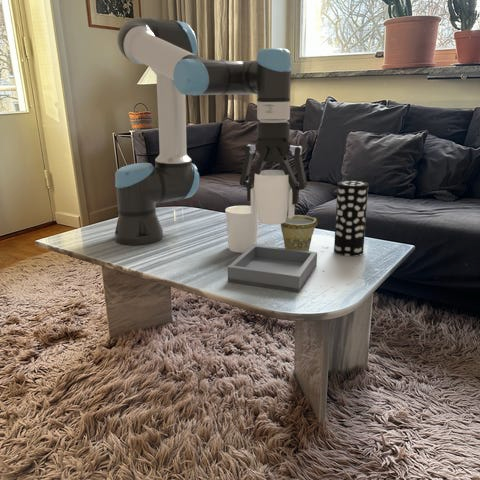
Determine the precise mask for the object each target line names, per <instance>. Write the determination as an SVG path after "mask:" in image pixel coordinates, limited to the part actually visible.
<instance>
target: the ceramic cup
mask: <svg viewBox="0 0 480 480" xmlns="http://www.w3.org/2000/svg"><path fill="white" fill-rule="evenodd" d="M317 225H318V219H317V217H312V216H309V215H302V214H294V217H293V218H292V219H289V218H288V215H287V216H286V221H285V222H284V223H282V224H280V229H281V233H282V238H283V242H284V243H283V244H284V248H286V249H294V250H303V251H310V246H311V243H312V238H313V235H314V231H315V228H316V227H317Z"/></svg>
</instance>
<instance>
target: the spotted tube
mask: <svg viewBox="0 0 480 480" xmlns="http://www.w3.org/2000/svg"><path fill="white" fill-rule="evenodd" d="M336 190H337V191H336V204H335V205H336V207H335V208H336V210H335V223H334V224H335V225H334V245H333V252H334V253H335V254H337V255H339V256H344V257H345V256H346V257H357V256H356V255H358V256H361V255H363V254H364V247H365V234H366V220H367V210H368V209H367V208H368V196H369V193H368V192H369V182H365V181H361V180H341V181H338V182H337V189H336ZM362 253H363V254H362ZM360 254H361V255H360Z"/></svg>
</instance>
